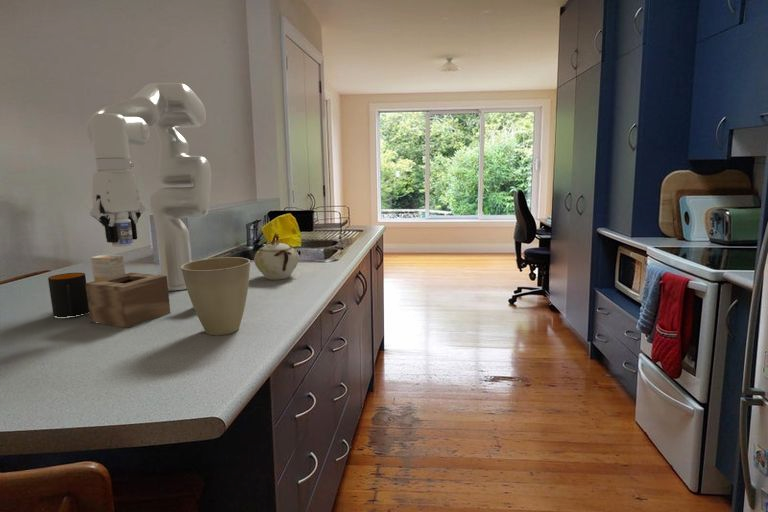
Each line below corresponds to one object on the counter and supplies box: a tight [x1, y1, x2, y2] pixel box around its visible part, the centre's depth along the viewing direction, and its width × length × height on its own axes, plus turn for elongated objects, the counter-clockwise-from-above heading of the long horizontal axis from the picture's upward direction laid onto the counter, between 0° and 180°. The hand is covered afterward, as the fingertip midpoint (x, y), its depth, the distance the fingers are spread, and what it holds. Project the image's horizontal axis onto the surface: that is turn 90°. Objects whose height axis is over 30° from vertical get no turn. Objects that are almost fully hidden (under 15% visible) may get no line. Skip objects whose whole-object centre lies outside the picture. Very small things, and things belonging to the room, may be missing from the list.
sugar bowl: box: [253, 233, 300, 281], centre depth 170 cm, size 20×15×15 cm
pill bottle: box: [111, 212, 134, 248], centre depth 123 cm, size 5×5×8 cm
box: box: [85, 272, 171, 329], centre depth 127 cm, size 13×13×10 cm
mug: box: [47, 272, 89, 317], centre depth 130 cm, size 8×12×10 cm
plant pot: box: [181, 256, 251, 336], centre depth 114 cm, size 15×15×16 cm
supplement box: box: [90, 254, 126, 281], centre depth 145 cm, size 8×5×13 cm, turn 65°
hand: (122, 240), depth 124 cm, fingers closed on pill bottle, 4 cm apart
